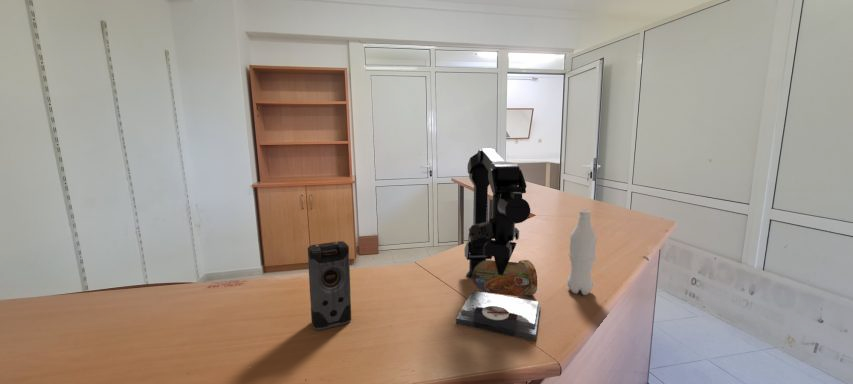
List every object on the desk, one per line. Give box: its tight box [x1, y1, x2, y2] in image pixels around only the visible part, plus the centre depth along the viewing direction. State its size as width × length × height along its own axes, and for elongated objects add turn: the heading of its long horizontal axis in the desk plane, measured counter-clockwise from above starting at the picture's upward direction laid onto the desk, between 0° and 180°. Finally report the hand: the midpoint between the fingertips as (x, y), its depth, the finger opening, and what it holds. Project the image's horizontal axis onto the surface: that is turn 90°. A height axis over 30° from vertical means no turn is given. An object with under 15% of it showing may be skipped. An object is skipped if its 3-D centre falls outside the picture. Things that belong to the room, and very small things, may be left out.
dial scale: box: [455, 290, 541, 342], centre depth 85 cm, size 18×19×4 cm
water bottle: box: [566, 209, 597, 296], centre depth 99 cm, size 7×7×25 cm
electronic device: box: [307, 240, 352, 331], centre depth 82 cm, size 9×6×20 cm, turn 117°
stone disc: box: [517, 259, 538, 296], centre depth 99 cm, size 10×4×10 cm, turn 5°
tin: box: [471, 259, 531, 297], centre depth 86 cm, size 15×3×8 cm, turn 68°
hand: (501, 272), depth 86 cm, fingers closed on tin, 3 cm apart
